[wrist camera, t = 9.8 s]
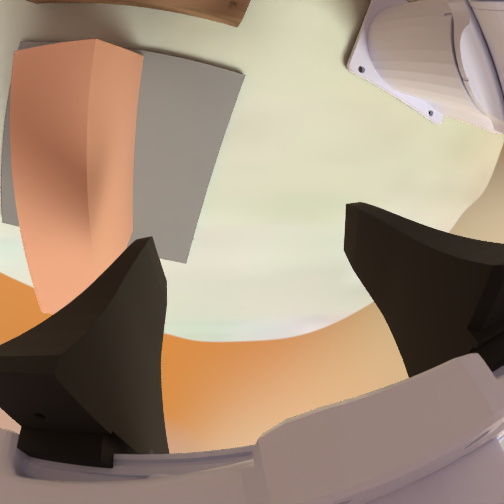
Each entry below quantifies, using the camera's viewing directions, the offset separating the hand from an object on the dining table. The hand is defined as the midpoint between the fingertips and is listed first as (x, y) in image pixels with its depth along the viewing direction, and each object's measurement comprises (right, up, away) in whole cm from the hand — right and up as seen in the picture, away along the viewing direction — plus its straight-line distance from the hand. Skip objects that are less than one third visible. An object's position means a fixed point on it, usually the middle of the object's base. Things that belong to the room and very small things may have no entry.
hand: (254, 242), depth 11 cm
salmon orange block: (-9, +6, +6) cm, 13 cm away
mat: (-10, +6, +6) cm, 14 cm away
